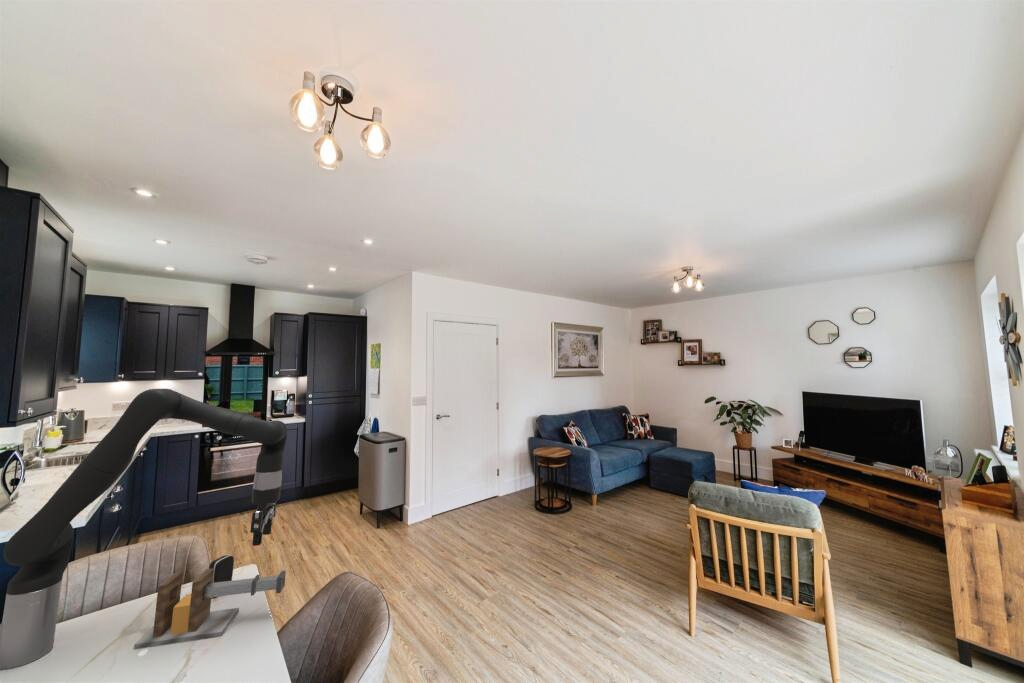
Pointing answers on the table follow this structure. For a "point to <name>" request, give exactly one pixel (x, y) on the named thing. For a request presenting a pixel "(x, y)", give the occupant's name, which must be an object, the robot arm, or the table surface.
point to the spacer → (181, 615)
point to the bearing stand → (200, 615)
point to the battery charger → (222, 569)
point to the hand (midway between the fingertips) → (261, 539)
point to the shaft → (245, 586)
